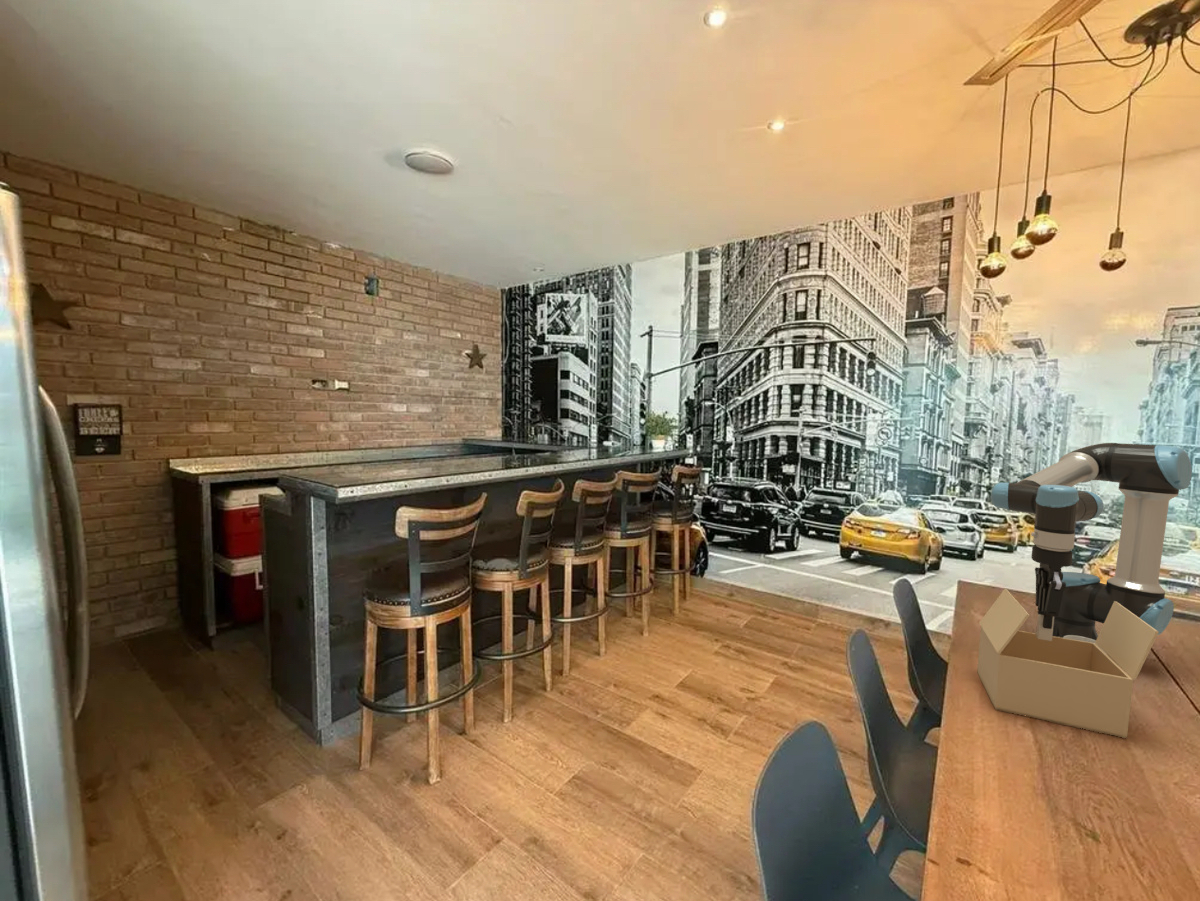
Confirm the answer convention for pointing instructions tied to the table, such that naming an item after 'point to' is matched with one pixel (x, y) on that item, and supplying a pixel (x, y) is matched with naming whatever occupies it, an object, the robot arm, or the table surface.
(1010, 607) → the far flap
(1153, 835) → the table surface
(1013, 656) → the carton
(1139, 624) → the near flap
